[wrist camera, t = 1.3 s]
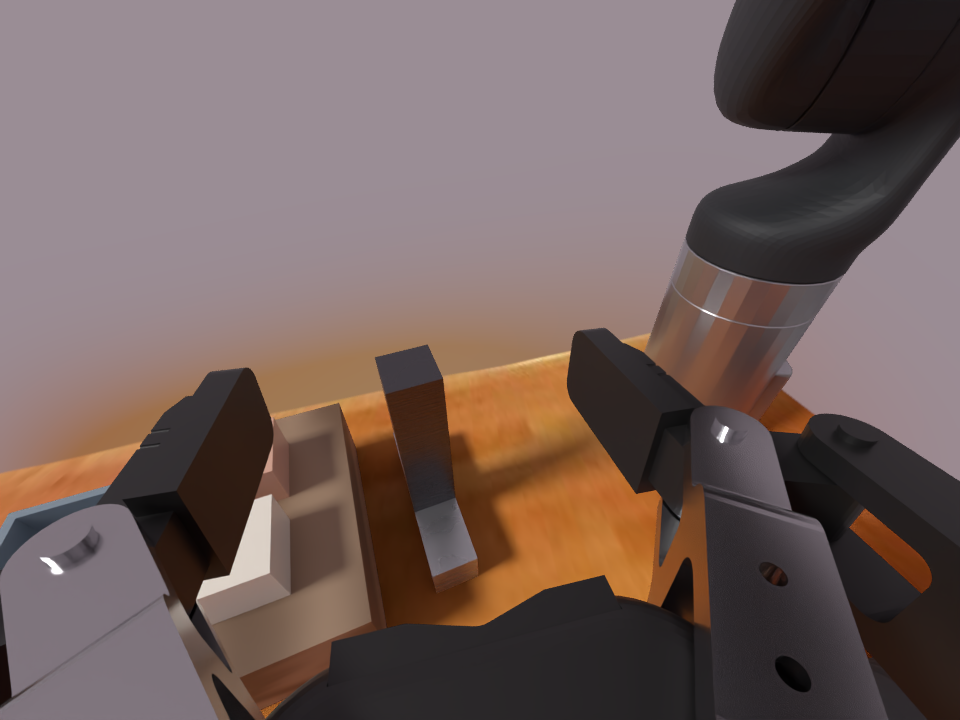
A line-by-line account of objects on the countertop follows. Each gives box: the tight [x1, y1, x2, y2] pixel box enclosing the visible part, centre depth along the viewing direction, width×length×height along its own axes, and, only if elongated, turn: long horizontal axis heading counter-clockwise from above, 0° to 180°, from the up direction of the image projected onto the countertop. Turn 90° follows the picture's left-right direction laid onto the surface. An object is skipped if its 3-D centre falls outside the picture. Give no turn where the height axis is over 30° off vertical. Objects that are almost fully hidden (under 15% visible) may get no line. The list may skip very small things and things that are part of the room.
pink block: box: [255, 417, 290, 501], centre depth 25 cm, size 4×4×3 cm
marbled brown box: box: [212, 403, 387, 710], centre depth 25 cm, size 12×16×6 cm
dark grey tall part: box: [375, 345, 478, 593], centre depth 25 cm, size 3×12×15 cm, turn 21°
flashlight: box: [868, 657, 927, 720], centre depth 19 cm, size 15×5×5 cm, turn 105°
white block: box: [197, 494, 291, 625], centre depth 20 cm, size 4×4×3 cm
